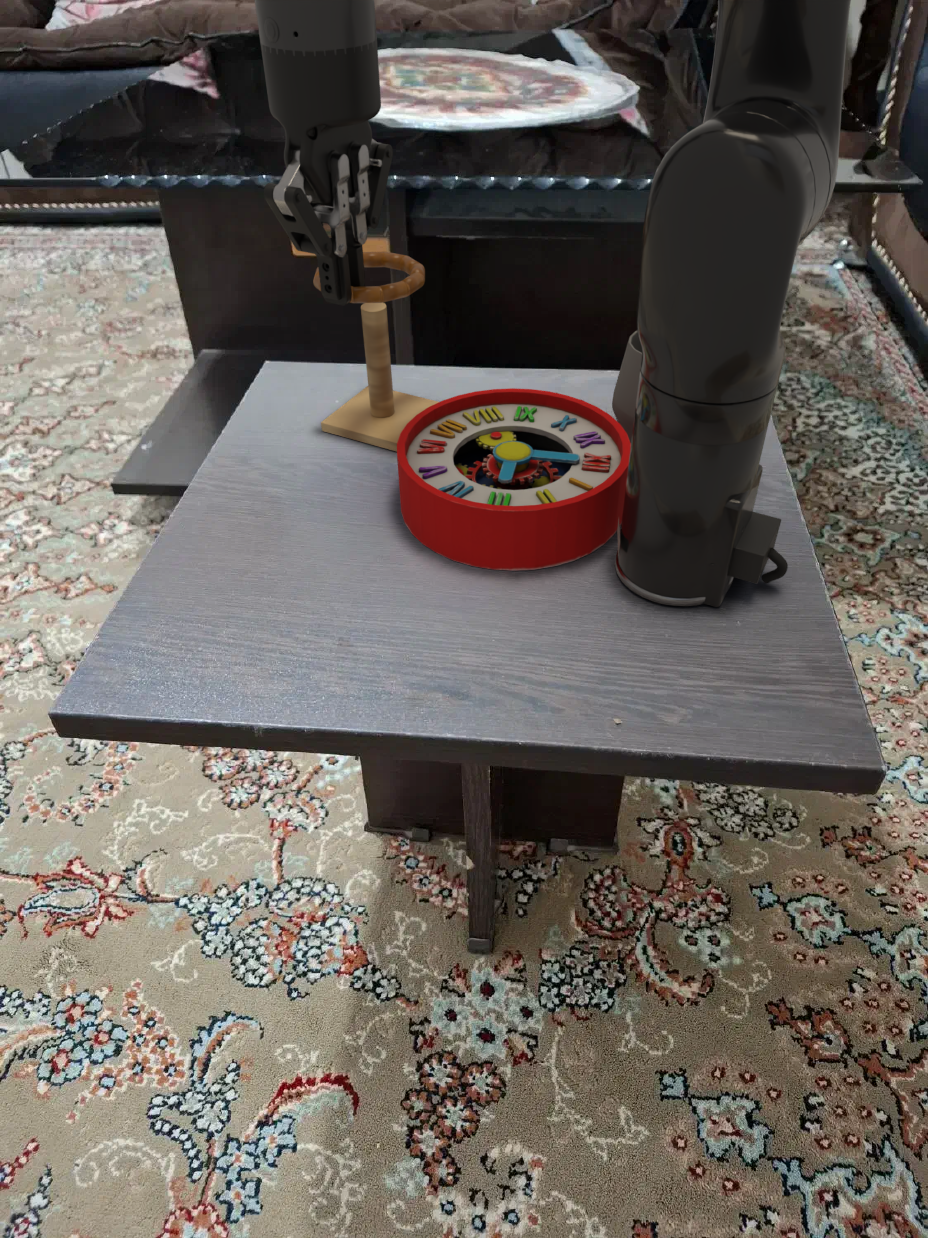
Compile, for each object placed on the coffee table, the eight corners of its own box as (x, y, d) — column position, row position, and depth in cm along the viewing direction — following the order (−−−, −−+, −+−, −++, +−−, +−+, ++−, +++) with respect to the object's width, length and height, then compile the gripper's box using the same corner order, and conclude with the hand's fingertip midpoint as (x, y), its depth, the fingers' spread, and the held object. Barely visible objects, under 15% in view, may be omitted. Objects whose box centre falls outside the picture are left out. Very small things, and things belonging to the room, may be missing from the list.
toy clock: (426, 380, 85) (638, 397, 82) (429, 434, 89) (631, 452, 86) (368, 497, 71) (623, 523, 67) (374, 556, 75) (615, 583, 71)
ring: (444, 275, 73) (444, 260, 72) (387, 313, 67) (386, 297, 67) (355, 257, 76) (354, 243, 76) (293, 292, 71) (291, 277, 70)
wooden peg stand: (443, 411, 93) (439, 296, 85) (398, 452, 87) (389, 333, 79) (370, 392, 96) (359, 281, 88) (321, 431, 90) (305, 315, 82)
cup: (697, 415, 91) (713, 320, 84) (714, 464, 84) (733, 365, 78) (603, 415, 91) (612, 320, 85) (613, 464, 84) (624, 365, 78)
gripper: (305, 58, 52) (336, 341, 64) (420, 20, 61) (429, 275, 73) (203, 47, 55) (251, 322, 66) (328, 13, 64) (351, 260, 75)
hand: (344, 296), depth 69 cm, fingers closed on ring, 1 cm apart
